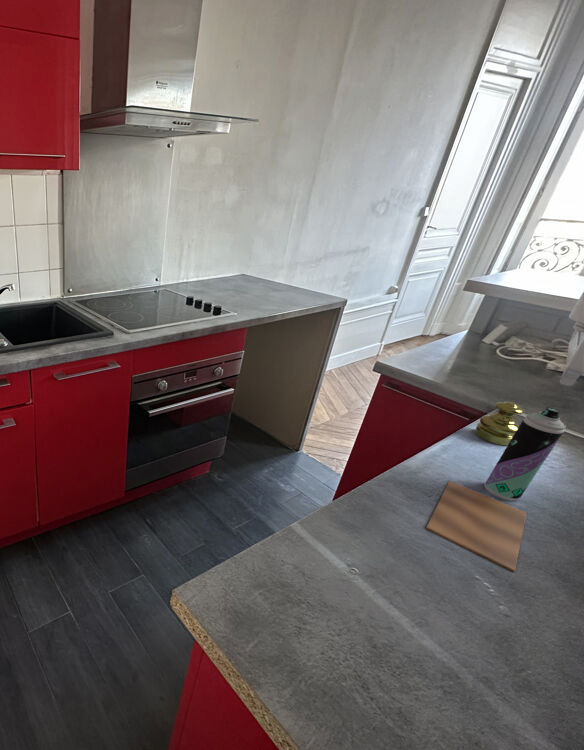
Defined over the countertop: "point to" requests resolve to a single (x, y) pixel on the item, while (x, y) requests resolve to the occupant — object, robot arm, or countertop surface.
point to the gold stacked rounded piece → (499, 424)
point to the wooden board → (479, 524)
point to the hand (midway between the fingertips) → (565, 383)
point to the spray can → (525, 454)
